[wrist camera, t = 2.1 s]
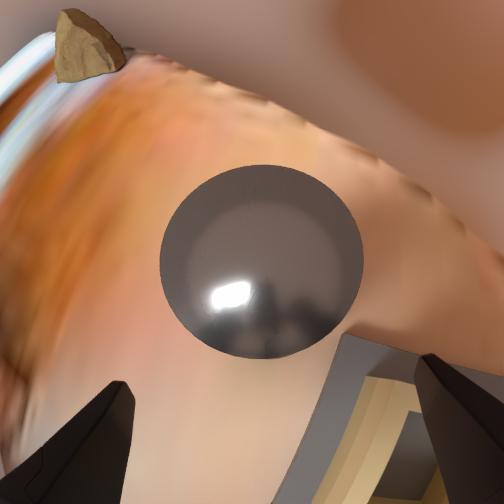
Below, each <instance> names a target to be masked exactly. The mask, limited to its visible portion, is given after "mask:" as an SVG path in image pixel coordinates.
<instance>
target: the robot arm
mask: <svg viewBox="0 0 504 504" xmlns="http://www.w3.org/2000/svg"><path fill="white" fill-rule="evenodd" d="M414 382H415V386H416V390H417V394H418V398H419V403H420V407H421V411H422V415H423V419H424V423H425V426H426V429H427V432H428V434H429V437H430V440H431V443H432V447H433V450H434V453H435V456H436V459H437V462H438V466H439V469H440V472H441V476H442V479H443V483H444V486H445V490H446V494H447V497H448V501H449V504H504V403H503V402H501V401H500V400H498V399H497V398H496V397H494V396H493V395H491V394H490V393H489V392H487V391H486V390H484V389H483V388H482V387H480V386H479V385H477V384H476V383H475V382H473V381H472V380H470V379H469V378H467V377H466V376H465V375H463V374H462V373H460V372H459V371H457V370H456V369H455V368H453V367H452V366H450V365H449V364H447V363H446V362H445V361H443V360H442V359H440V358H439V357H437V356H436V355H435V354H432V353H429V354H424V355H421V356H420V357H419V359H418V362H417V365H416V368H415V371H414ZM134 412H135V398H134V395H133V394H132V392H131V390H130V388H129V387H128V385H127V383H126V382H125V381H112V382H111V383H110V384H109V385H107V386H106V387H105V388H104V389H103V390H102V391H101V392H100V393H99V394H98V395H97V396H96V397H94V398H93V399H92V400H91V401H90V402H89V403H88V404H87V405H86V406H85V407H84V408H83V409H81V410H80V411H79V412H78V413H77V414H76V415H75V416H74V417H73V418H72V419H71V420H70V421H69V422H67V423H66V424H65V425H64V426H63V427H62V428H61V429H60V430H59V431H58V432H57V433H56V434H54V435H53V436H52V437H51V438H50V439H49V440H48V441H47V442H46V443H45V444H44V445H43V447H40V448H39V449H38V450H37V451H36V452H35V453H34V454H33V455H31V456H30V457H29V458H28V459H27V460H26V461H24V462H23V463H22V464H21V465H19V466H18V467H17V468H15V469H14V470H13V471H11V472H10V473H9V474H7V475H6V476H5V477H3V478H2V479H1V480H0V504H120V500H121V494H122V488H123V483H124V478H125V472H126V467H127V462H128V457H129V452H130V447H131V441H132V431H133V421H134Z"/></svg>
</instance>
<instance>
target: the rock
mask: <svg viewBox="0 0 504 504" xmlns="http://www.w3.org/2000/svg"><path fill="white" fill-rule="evenodd" d="M55 48H56V50H55V56H54V66H55V74H56V76H57V83H60V82H67V83H73V82H76V81H81V80H84V79H87V78H89V77H95V76H98V75H100V74H103V73H109V72H110V73H111V72H114V71H117V70H118V69H119V68H120V67H121V66H123V65H124V64H125V63H126V58H125V54H124V53H123V50H122V48H121V46H120V45H119V44H118V43H117V42H116V41H115V39H114V38H113V36H112V35H111V34H110V33H109V32H108V31H107V30H106V29H105V28H104V27H103V26H102V25H100V24H99V22H98V21H96V20H95V19H93V18H90V17H89V16H88V15H86V14H85V13H84V12H82V11H80V10H79V9H74V8H72V9H65V10H62V11H61V12H60V14H59V20H58V24H57V30H56V41H55Z"/></svg>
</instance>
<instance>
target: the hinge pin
mask: <svg viewBox="0 0 504 504" xmlns="http://www.w3.org/2000/svg"><path fill="white" fill-rule="evenodd" d="M363 259H364V258H363V246H362V242H361V237H360V233H359V230H358V228H357V225H356V223H355V220H354V219H353V217H352V215H351V213H350V211H349V210H348V208H347V207H346V206H345V204H344V203H343V201H342V200H341V199H340V198H339V197H338V196H337V195H336V194H335V193H334V192H333V191H332V190H331V189H330V188H328V187H327V186H326V185H325V184H323V183H322V182H320V181H319V180H317V179H315V178H314V177H312V176H310V175H308V174H305V173H303V172H300V171H298V170H295V169H292V168H287V167H282V166H275V165H251V166H244V167H240V168H235V169H232V170H229V171H226V172H223V173H221V174H219V175H217V176H215V177H213V178H211V179H209V180H208V181H206V182H204V183H203V184H201V185H200V186H199V187H197V188H196V189H195V190H194V191H193V192H191V193H190V194H189V195H188V196H187V198H186V199H185V200H184V201H183V202H182V203H181V204H180V206H179V207H178V208H177V210H176V211H175V213H174V215H173V216H172V218H171V220H170V222H169V224H168V226H167V229H166V231H165V234H164V237H163V241H162V245H161V251H160V276H161V283H162V286H163V290H164V293H165V296H166V298H167V301H168V303H169V305H170V307H171V309H172V310H173V312H174V314H175V315H176V317H177V318H178V319H179V321H180V322H181V323H182V324H183V325H184V327H185V328H186V329H187V330H188V331H189V332H191V333H192V334H193V335H194V336H195V337H196V338H198V339H199V340H201V341H202V342H204V343H205V344H207V345H208V346H210V347H212V348H214V349H216V350H218V351H221V352H224V353H227V354H230V355H233V356H237V357H243V358H249V359H278V358H282V357H285V356H288V355H291V354H294V353H296V352H299V351H301V350H304V349H306V348H308V347H310V346H311V345H313V344H315V343H317V342H318V341H320V340H321V339H323V338H324V337H325V336H326V335H328V334H329V333H330V332H331V331H332V330H333V329H334V328H335V327H336V326H337V325H338V324H339V323H340V322H341V321H342V319H343V318H344V317H345V315H346V314H347V312H348V311H349V310H350V308H351V306H352V304H353V302H354V300H355V298H356V295H357V293H358V290H359V287H360V283H361V278H362V273H363Z"/></svg>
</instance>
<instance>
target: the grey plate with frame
mask: <svg viewBox="0 0 504 504" xmlns="http://www.w3.org/2000/svg"><path fill="white" fill-rule="evenodd" d="M419 357H420V355H417V354H413V353H410V352H406V351H403V350H399V349H396V348H393V347H389V346H386V345H383V344H379V343H376V342H373V341H369V340H366V339H363V338H360V337H356V336H353V335H350V334H347V333H344V334H342V335H341V338H340V341H339V344H338V347H337V350H336V353H335V356H334V359H333V362H332V365H331V367H330V370H329V373H328V376H327V378H326V381H325V384H324V386H323V389H322V392H321V394H320V397H319V399H318V402H317V405H316V407H315V410H314V412H313V414H312V417H311V419H310V422H309V424H308V427H307V429H306V431H305V434H304V436H303V438H302V440H301V443H300V445H299V447H298V449H297V452H296V454H295V456H294V458H293V460H292V463H291V465H290V467H289V469H288V471H287V473H286V475H285V477H284V479H283V481H282V483H281V485H280V487H279V489H278V491H277V493H276V495H275V497H274V499H273V501H272V503H271V504H449V501H448V497H447V494H446V490H445V486H444V483H443V479H442V476H441V472H440V469H439V466H438V462H437V459H436V456H435V453H434V450H433V447H432V443H431V440H430V437H429V434H428V432H427V429H426V426H425V423H424V419H423V415H422V411H421V407H420V403H419V398H418V394H417V390H416V386H415V382H414V371H415V368H416V365H417V362H418V359H419ZM447 364H449V363H447ZM449 365H450V366H452V367H453V368H455V369H456V370H457V371H459V372H460V373H462V374H463V375H465V376H466V377H467V378H469V379H470V380H472V381H473V382H475V383H476V384H477V385H479V386H480V387H482V388H483V389H484V390H486V391H487V392H489V393H490V394H491V395H493V396H494V397H496V398H497V399H498V400H500V401H501V402H503V403H504V377H501V376H497V375H493V374H489V373H485V372H480V371H476V370H473V369H469V368H465V367H461V366H457V365H453V364H449Z"/></svg>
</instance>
